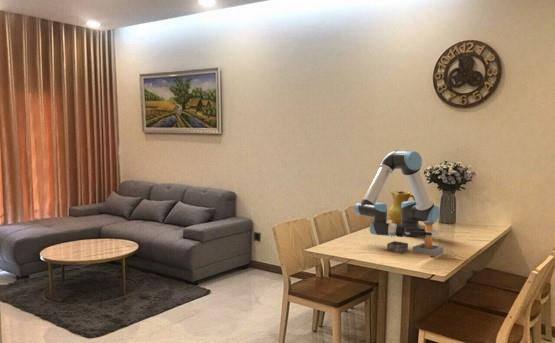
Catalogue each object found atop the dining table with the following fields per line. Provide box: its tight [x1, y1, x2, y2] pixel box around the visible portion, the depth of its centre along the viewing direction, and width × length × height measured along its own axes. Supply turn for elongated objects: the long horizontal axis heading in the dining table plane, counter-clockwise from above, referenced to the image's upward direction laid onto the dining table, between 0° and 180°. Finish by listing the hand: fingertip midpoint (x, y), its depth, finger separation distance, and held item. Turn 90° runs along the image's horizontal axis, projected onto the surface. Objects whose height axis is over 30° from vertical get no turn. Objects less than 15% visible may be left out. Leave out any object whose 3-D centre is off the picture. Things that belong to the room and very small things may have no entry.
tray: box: [411, 242, 445, 259], centre depth 264 cm, size 13×13×4 cm
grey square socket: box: [383, 240, 412, 255], centre depth 266 cm, size 12×12×6 cm
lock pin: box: [423, 221, 435, 250], centre depth 263 cm, size 6×6×16 cm
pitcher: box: [387, 190, 415, 224], centre depth 350 cm, size 17×19×25 cm
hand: (438, 233), depth 261 cm, fingers closed on lock pin, 4 cm apart
